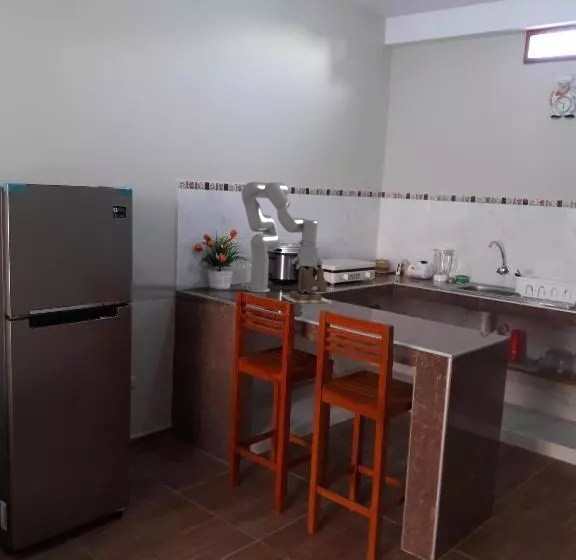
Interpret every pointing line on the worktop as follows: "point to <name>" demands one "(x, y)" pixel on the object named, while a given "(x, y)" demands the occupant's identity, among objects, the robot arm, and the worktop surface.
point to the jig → (305, 297)
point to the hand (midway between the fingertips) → (305, 276)
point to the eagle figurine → (305, 290)
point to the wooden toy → (312, 279)
